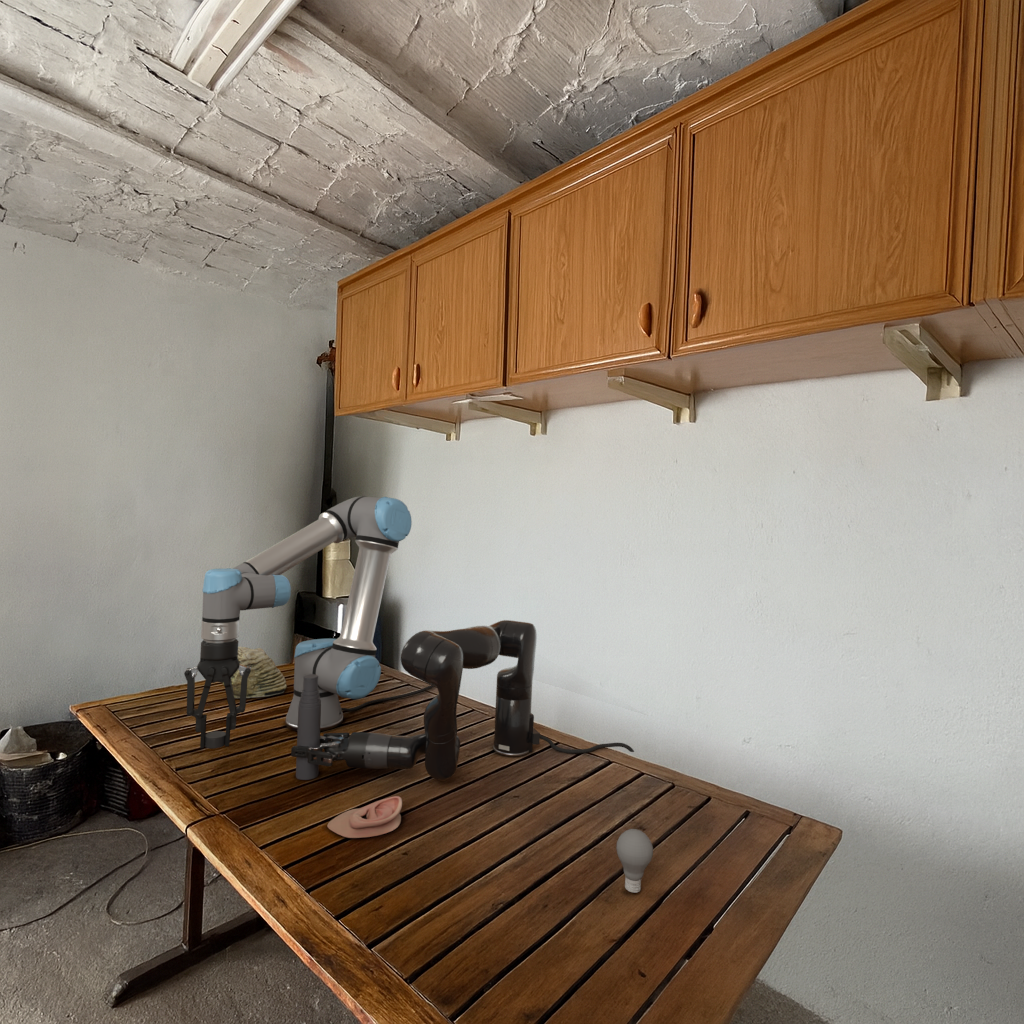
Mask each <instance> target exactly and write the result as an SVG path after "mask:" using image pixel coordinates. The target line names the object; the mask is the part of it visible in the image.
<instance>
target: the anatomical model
mask: <svg viewBox="0 0 1024 1024" xmlns="http://www.w3.org/2000/svg"><path fill="white" fill-rule="evenodd" d="M402 808H403V799H402V797H401V796H399V795H395V796H389V797H385V798H383V799H379V800H376V801H374V802H372V803H369V804H367V805H365V806H362V807H359V808H353V809H349V810H346V811H344V812H341V813H340V814H338V815H337V816H335V817H334V818H332V819H331V820H330V821H329V822H328V823H327V828H328V829H329V830H330V831H331V832H333V833H335V834H337V835H339V836H340V837H341V836H342V837H344V838H347V839H360V838H370V837H371V838H372V837H377V836H382V835H384V834H387V833H390V832H392V831H394V830H396V829H397V828H398V827H399V826H400V824H401V822H402V815H401V811H402Z"/></svg>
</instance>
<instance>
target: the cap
mask: <svg viewBox="0 0 1024 1024" xmlns="http://www.w3.org/2000/svg"><path fill="white" fill-rule="evenodd" d="M225 738H226V731H222V730H215V731H210V732H206V735H205V744H204V748H206V749H219V748H223V747H225Z"/></svg>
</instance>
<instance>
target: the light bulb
mask: <svg viewBox="0 0 1024 1024" xmlns="http://www.w3.org/2000/svg"><path fill="white" fill-rule="evenodd" d="M615 849H616V854H617V857H618V859H619V861H620V863H621V865H622V867H623V873H624V874H623V875H624V876H625V878H624V888H625V890H627V891H628V892H630V893H634V894H635V893H639V892H640V891H641V889H642V887H641V886H642V879H643V877H644V875H645V871H646V868H647V867H648V866H649V864H650V863H651V861H652V859H653V855H654V847H653V843H652V841H651V838H649V836H648V835H647V834H646V833H645V832H643V831H642V830H641V829H636V828H629V829H627V830H625V831H623V832H622V833H621V834H620V835H619V837H618V839H617V841H616V847H615Z"/></svg>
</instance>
